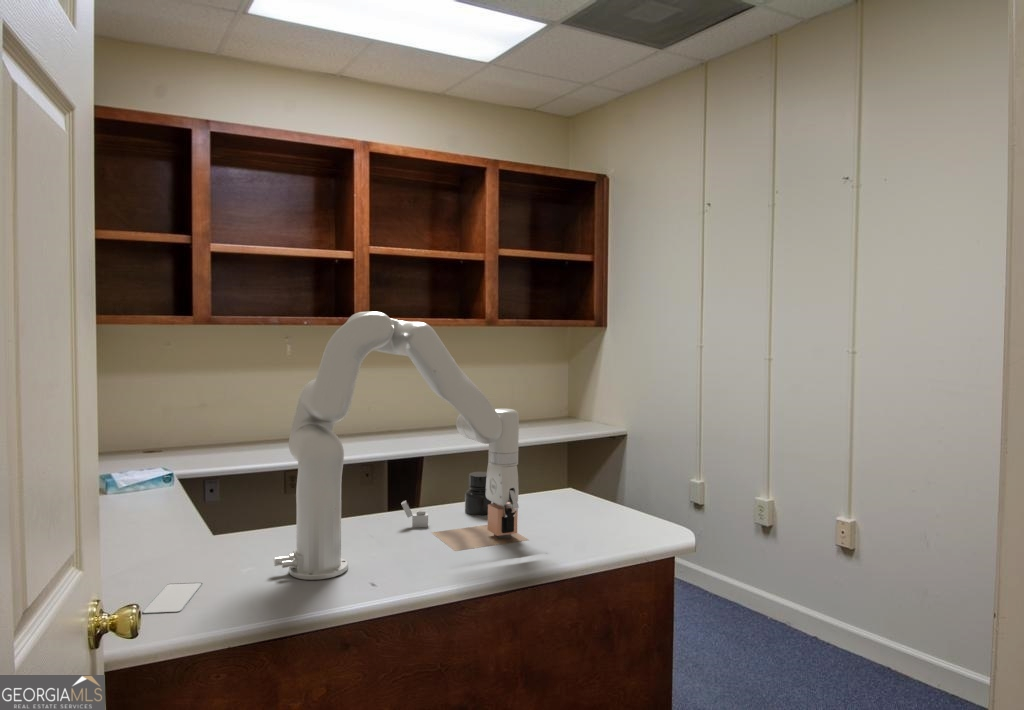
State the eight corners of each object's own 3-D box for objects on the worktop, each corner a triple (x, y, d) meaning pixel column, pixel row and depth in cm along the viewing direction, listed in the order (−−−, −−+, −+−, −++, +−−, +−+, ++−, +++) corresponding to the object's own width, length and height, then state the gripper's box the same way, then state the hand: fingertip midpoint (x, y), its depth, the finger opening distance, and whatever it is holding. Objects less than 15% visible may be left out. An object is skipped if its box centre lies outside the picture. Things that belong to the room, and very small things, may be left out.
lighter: (427, 529, 185) (428, 499, 185) (428, 531, 184) (428, 501, 183) (401, 530, 184) (401, 500, 184) (400, 532, 183) (401, 502, 182)
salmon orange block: (497, 535, 172) (497, 509, 172) (487, 529, 177) (487, 504, 177) (517, 533, 175) (517, 507, 174) (507, 527, 180) (507, 501, 179)
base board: (455, 555, 165) (455, 550, 165) (431, 537, 179) (431, 532, 179) (529, 544, 174) (529, 539, 174) (500, 527, 188) (500, 523, 188)
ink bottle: (483, 509, 206) (483, 469, 205) (503, 515, 200) (503, 474, 199) (457, 515, 199) (457, 473, 199) (477, 522, 193) (477, 479, 192)
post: (499, 539, 174) (499, 518, 173) (493, 535, 177) (494, 514, 176) (510, 537, 175) (511, 516, 175) (505, 534, 178) (505, 513, 178)
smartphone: (203, 582, 146) (180, 611, 131) (203, 584, 146) (180, 614, 131) (167, 583, 145) (140, 613, 130) (167, 586, 145) (140, 616, 130)
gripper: (475, 453, 181) (474, 522, 182) (505, 465, 166) (504, 540, 166) (501, 451, 184) (500, 518, 185) (532, 463, 169) (531, 536, 170)
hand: (502, 528), depth 176 cm, fingers closed on salmon orange block, 5 cm apart
